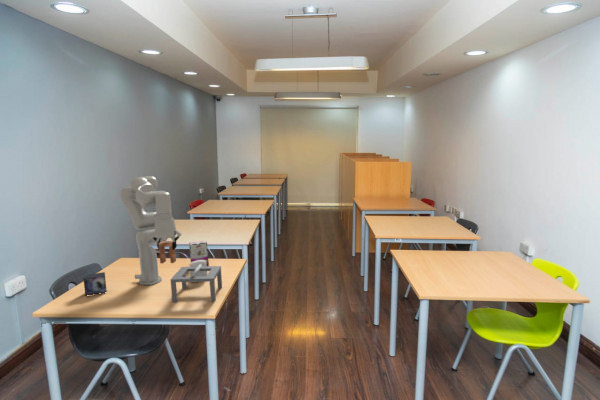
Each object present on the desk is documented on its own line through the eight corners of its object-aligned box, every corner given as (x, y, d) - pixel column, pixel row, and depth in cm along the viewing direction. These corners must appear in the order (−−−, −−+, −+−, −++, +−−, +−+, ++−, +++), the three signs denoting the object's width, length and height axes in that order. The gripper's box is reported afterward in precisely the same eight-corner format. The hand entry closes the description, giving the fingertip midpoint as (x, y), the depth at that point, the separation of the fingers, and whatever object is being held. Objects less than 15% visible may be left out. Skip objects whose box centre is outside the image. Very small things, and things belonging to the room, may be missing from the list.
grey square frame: (172, 302, 198) (170, 275, 195) (183, 288, 217) (181, 263, 214) (214, 301, 198) (213, 274, 195) (222, 287, 217) (220, 262, 214)
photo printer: (206, 277, 232) (204, 257, 230) (208, 279, 229) (207, 259, 227) (189, 281, 227) (187, 261, 225) (191, 283, 223) (190, 263, 221)
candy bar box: (207, 264, 257) (206, 240, 254) (209, 266, 252) (207, 242, 250) (190, 266, 253) (188, 242, 250) (191, 268, 248) (189, 244, 245)
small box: (85, 297, 207) (82, 278, 205) (85, 293, 213) (83, 275, 211) (106, 293, 212) (104, 275, 210) (106, 289, 217) (104, 271, 216)
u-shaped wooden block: (160, 263, 202) (158, 243, 200) (163, 261, 206) (161, 241, 204) (173, 263, 202) (171, 242, 200) (176, 260, 206) (174, 240, 204)
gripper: (144, 217, 196) (148, 251, 199) (178, 217, 196) (181, 250, 199) (150, 215, 204) (153, 247, 207) (183, 214, 203) (185, 246, 206)
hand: (167, 248), depth 203 cm, fingers closed on u-shaped wooden block, 7 cm apart
